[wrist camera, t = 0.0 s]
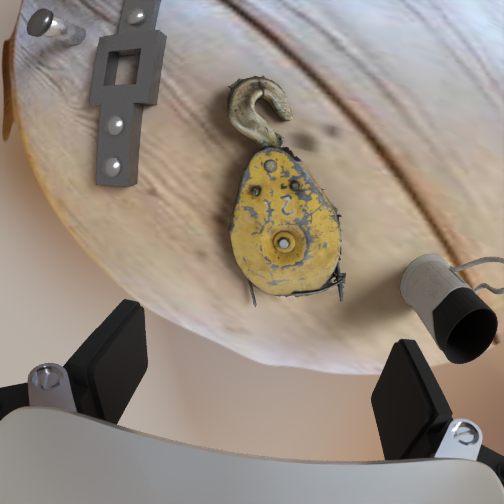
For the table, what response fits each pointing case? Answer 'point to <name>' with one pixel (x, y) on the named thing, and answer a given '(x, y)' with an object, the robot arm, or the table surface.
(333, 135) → the table surface
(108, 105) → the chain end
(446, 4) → the table surface
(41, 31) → the steel pin
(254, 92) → the pulley block
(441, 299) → the grey black mug
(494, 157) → the table surface
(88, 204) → the table surface
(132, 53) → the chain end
